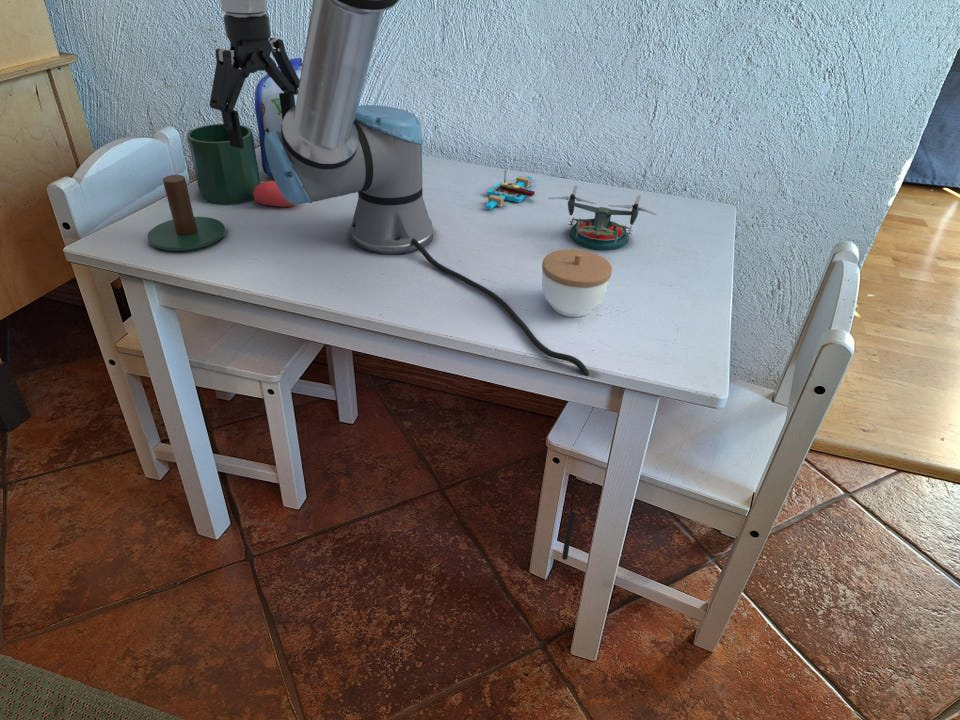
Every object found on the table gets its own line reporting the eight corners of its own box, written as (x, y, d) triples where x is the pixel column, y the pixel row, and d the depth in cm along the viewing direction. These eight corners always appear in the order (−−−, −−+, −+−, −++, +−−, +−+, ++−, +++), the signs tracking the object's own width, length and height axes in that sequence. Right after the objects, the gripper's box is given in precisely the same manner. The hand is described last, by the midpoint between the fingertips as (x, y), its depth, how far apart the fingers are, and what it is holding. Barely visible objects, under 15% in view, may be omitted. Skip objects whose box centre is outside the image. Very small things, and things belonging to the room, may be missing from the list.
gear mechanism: (551, 186, 147) (514, 177, 151) (553, 162, 144) (515, 154, 148) (511, 216, 133) (471, 206, 136) (513, 191, 130) (472, 181, 133)
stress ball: (283, 221, 130) (295, 192, 128) (243, 198, 130) (255, 169, 128) (294, 219, 135) (306, 191, 133) (256, 197, 135) (267, 169, 133)
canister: (273, 190, 139) (264, 131, 132) (229, 209, 131) (216, 147, 123) (233, 178, 144) (222, 120, 137) (187, 195, 136) (173, 134, 128)
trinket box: (598, 291, 110) (606, 240, 104) (610, 326, 101) (620, 272, 96) (534, 289, 109) (540, 238, 104) (541, 325, 101) (547, 271, 95)
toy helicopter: (653, 233, 129) (661, 192, 124) (646, 268, 117) (655, 225, 112) (554, 217, 133) (558, 178, 128) (537, 250, 121) (541, 207, 116)
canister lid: (241, 233, 122) (230, 175, 116) (182, 260, 113) (166, 199, 106) (193, 216, 127) (180, 159, 121) (133, 241, 118) (115, 181, 111)
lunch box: (288, 144, 163) (275, 48, 150) (329, 145, 164) (320, 50, 151) (259, 185, 141) (241, 77, 128) (308, 187, 141) (295, 79, 128)
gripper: (281, 2, 123) (296, 118, 135) (169, 19, 105) (198, 150, 118) (312, 7, 120) (323, 125, 132) (202, 26, 102) (227, 159, 115)
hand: (264, 137), depth 125 cm, fingers open, 13 cm apart
